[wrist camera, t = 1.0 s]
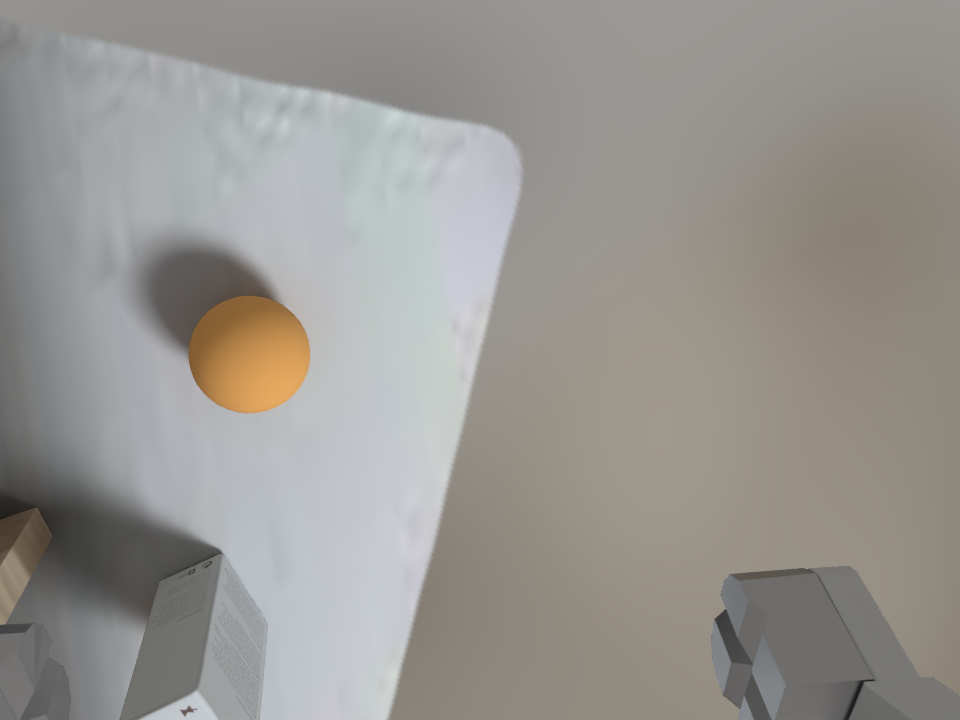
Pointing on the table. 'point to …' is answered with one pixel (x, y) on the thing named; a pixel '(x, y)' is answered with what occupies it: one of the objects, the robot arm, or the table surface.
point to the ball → (249, 354)
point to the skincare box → (200, 650)
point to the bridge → (19, 555)
